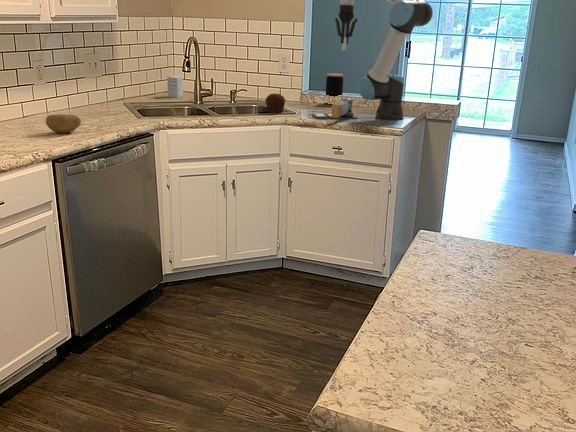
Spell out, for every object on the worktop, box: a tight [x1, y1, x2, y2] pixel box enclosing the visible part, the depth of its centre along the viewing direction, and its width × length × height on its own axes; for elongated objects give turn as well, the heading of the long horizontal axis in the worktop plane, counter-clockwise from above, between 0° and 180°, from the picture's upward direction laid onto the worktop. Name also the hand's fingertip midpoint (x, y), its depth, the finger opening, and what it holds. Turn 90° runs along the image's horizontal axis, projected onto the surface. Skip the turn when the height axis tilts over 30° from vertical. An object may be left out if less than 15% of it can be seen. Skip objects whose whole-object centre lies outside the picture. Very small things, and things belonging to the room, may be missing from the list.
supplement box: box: [166, 75, 184, 99], centre depth 367 cm, size 7×7×13 cm
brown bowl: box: [45, 113, 82, 134], centre depth 246 cm, size 10×14×8 cm
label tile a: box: [324, 113, 341, 120], centre depth 312 cm, size 6×10×1 cm, turn 11°
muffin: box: [264, 93, 286, 114], centre depth 322 cm, size 12×11×10 cm
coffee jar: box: [325, 73, 344, 96], centre depth 362 cm, size 11×11×18 cm
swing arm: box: [331, 97, 354, 118], centre depth 304 cm, size 23×5×7 cm, turn 157°
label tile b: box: [311, 113, 329, 120], centre depth 311 cm, size 6×10×1 cm, turn 11°
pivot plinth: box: [340, 112, 358, 120], centre depth 314 cm, size 9×9×3 cm
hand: (343, 49), depth 322 cm, fingers closed
